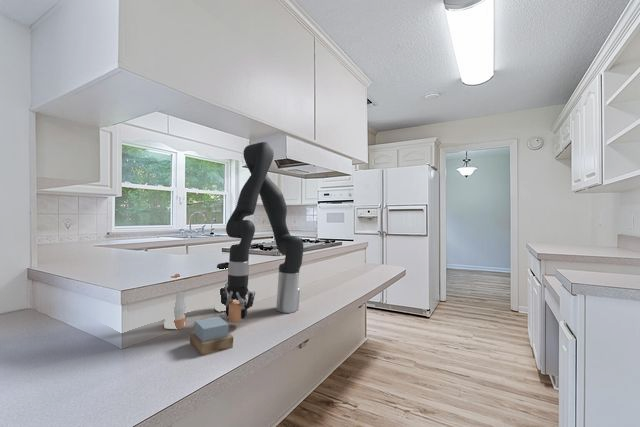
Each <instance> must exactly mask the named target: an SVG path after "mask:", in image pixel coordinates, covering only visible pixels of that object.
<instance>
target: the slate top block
mask: <svg viewBox="0 0 640 427" xmlns="http://www.w3.org/2000/svg"><path fill="white" fill-rule="evenodd" d="M229 327H230V324H229V323H228V322H227V321H225V320H224V319H223V318H222V317H220V316H215V317H210V318H202V319H196V320H194V327H193V328H194V329H193V332H194V333H195V334H196V335H197V337H198V338H199V339H200V340H201V341H202V342H206V341H211V340H215V339H220V338H224V337H228V333H229V329H230V328H229Z"/></svg>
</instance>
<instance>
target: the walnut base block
mask: <svg viewBox="0 0 640 427" xmlns="http://www.w3.org/2000/svg"><path fill="white" fill-rule="evenodd" d="M189 334H190V335H189V345H190V346H191V347H192V348H193V349H194V350H195V351H196V352H197V353H198V354H199V355H200V356H201V357H204V356H207V355H211V354H214V353H215V354H216V353H219V352H221V351H225V350H229V349H233V348H234V336H233V335H232V334H230V333H229V332H228V337H224V338H220V339H215V340H211V341H206V342H202V341H201V340H200V339H199V338H198V337H197V335H196V334H195V333H194V331H193V332H190V333H189Z"/></svg>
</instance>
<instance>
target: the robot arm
mask: <svg viewBox="0 0 640 427" xmlns="http://www.w3.org/2000/svg"><path fill="white" fill-rule="evenodd" d="M274 156H275V155H274V149H273V147H272V145H271V144H270V143H268V142H266V141H265V142H264V141H261V142H257V143H253V144H249V145H246V146H245V147H244V149H243V159H244V162H245V166H247V169H248V171H249V173H250V176H249V177H248V179H247V180H246V182H245V183H244V184H243V186H242V188H241V190H240V193H239V196H238V199H237V203H236V206H235V209H234V210H233V211H232V214H231V215H230V217H229V218H228V220H227V222H226V226H225V231H226V235H227V236H228V237H230V238H233V239H241V240H240V241H239V243H238V244H237V243H236V244H232V245H230V248H229V260H228V261H229V265H228V282H227V284H228V287H227V288H226V287H224V288H221V289H220V295H221V303H222V304H224V305H225V306H226V312H225V315H226V317H228V315H229V303H230V302H234V301H239V303H240V304H241V307H242V309H241V319H244V320H245V318H247V316H248V309H250V308H252V307H253V305H254V300H255V296H256V292H255V291H251V290H249V289H248V285H249V272H250V266H249V265H250V264H249V262H250V261H249V258H250V256H249V255H250V248H251V246H252V242H253V239H254V235H255V231H256V227H255V224H254V222H253V221H252V220H249V219H245V218H246V217H249V216H252V215H254V214H255V212H256V207H257V205H258V204H257V203H258V200H259V199H258V198H259V196H260V200H261V202H262V205H263V208H264V210H265V213H266V215H267V218H268V221H269V224H270V227H271V229H272V233H273V237H274V240H275V245H276V249H277V251H278V252H279V253H280V254H281V255H282V256H284V257H285V258H284V262H283V263H280V264H279V266H278V276H277V278H278V279H277V290H276V307H275V310H276V311H277V312H279V313H285V314H288V313H289V314H291V313H294V312H295V313H296V312H297V311H299V310H300V309H299V308H300V297H301V296H300V295H301V294H300V293H301V289H300V288H299V286H300V284H299V283H300V282H299V281H300V269H301V266H302V263H303V256H304V242H303V240H302V238H301V237H299V236H296V235H291V233H290V231H289V228H288V226H287V221H286V220H287V212H288V209H287V203H286V201H285V197H284V194H283V192H282V190H281V189H280V188H279V186H278V185H277V184H275V183H274V182H273V180H272V179H271V178H270V177H269V176H268V175H269V174H268V172H269V169H270V168H271V165H272V163H273V160H274ZM227 292H228V294H229V296H228V299H227Z"/></svg>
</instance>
